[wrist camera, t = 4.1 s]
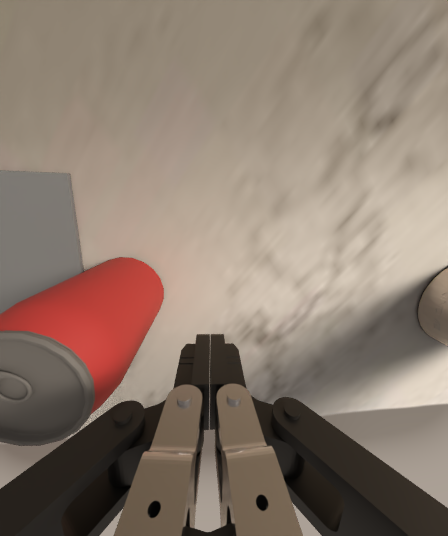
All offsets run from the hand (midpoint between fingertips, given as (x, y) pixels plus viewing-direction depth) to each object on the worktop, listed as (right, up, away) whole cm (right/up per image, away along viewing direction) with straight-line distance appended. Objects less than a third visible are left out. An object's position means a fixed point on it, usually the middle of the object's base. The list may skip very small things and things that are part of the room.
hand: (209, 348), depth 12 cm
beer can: (-8, +2, +9) cm, 12 cm away
